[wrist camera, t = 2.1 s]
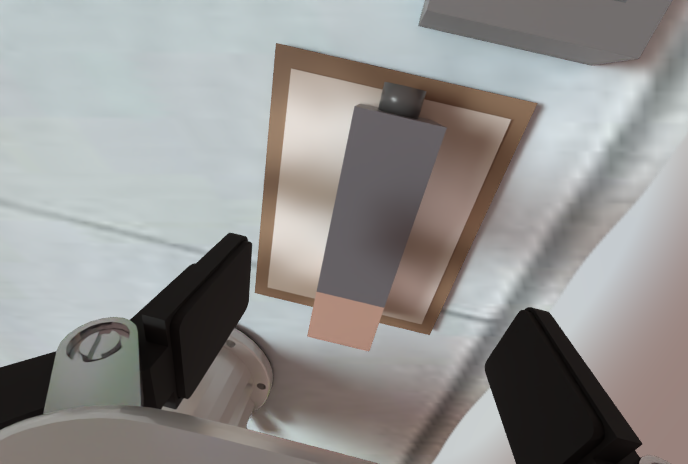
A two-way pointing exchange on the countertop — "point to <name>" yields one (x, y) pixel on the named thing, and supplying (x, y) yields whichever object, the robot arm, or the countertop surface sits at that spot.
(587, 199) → the countertop surface
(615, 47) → the button housing
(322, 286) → the charcoal marker
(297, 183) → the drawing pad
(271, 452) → the robot arm
